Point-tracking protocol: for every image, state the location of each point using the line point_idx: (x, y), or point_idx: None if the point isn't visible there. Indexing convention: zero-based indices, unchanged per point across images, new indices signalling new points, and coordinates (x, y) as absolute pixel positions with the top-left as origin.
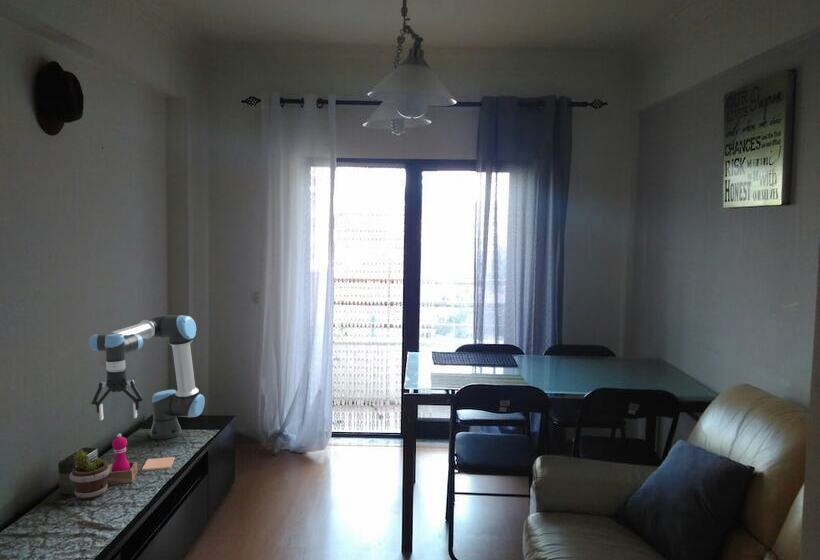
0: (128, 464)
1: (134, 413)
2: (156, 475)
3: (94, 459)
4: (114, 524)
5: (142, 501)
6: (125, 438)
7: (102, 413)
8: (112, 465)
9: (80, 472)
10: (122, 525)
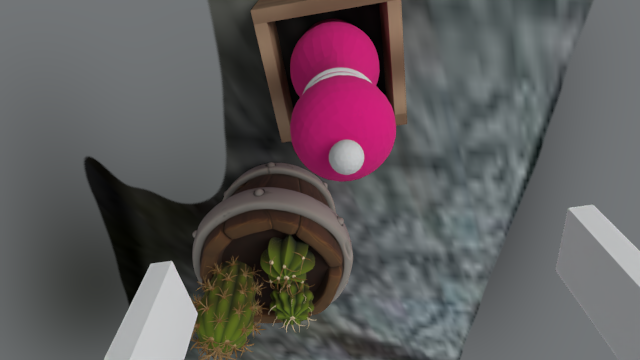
0: (377, 75)
1: (601, 319)
2: (494, 28)
3: (278, 280)
4: (428, 349)
5: (475, 252)
6: (387, 127)
7: (157, 347)
8: (267, 21)
9: (262, 320)
10: (449, 353)
